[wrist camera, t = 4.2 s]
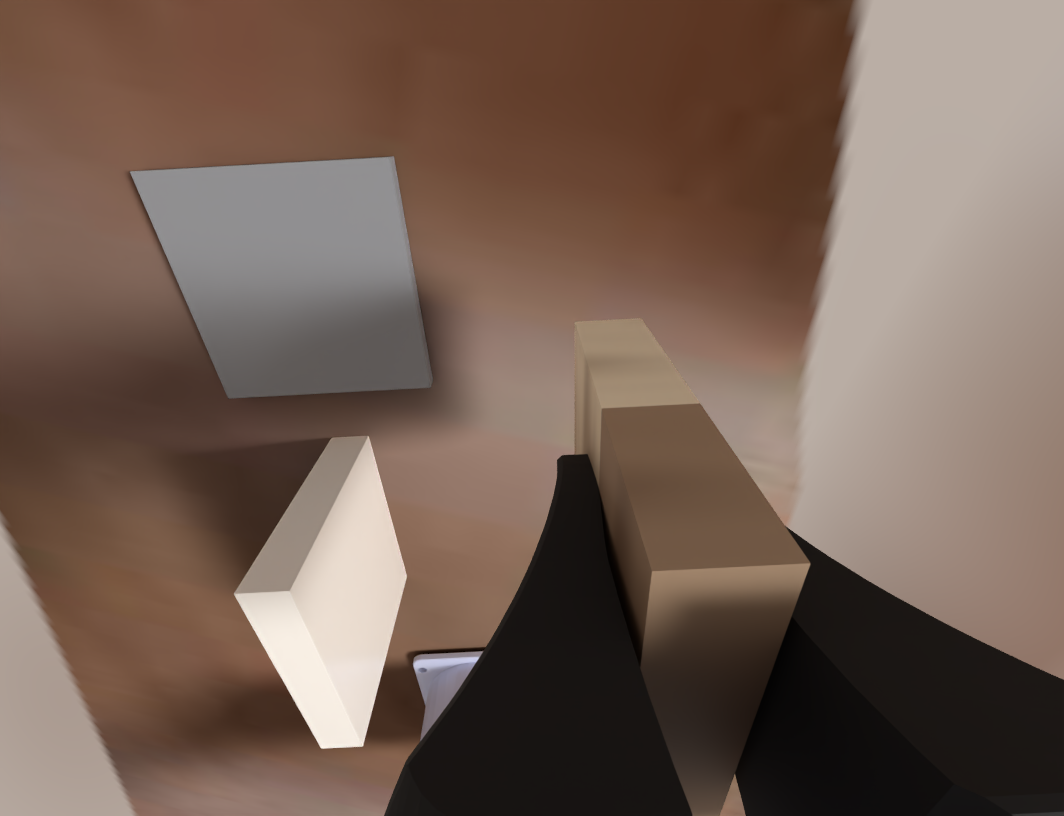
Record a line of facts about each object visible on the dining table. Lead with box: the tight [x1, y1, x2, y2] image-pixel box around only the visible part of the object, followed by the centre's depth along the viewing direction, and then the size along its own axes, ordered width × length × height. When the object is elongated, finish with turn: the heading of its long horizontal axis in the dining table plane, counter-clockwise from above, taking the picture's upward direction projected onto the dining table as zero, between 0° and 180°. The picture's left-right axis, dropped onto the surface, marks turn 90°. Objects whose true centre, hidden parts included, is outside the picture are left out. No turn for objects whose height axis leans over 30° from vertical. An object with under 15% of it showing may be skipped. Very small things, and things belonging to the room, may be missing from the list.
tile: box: [234, 436, 407, 748], centre depth 19 cm, size 9×2×8 cm, turn 3°
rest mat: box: [130, 157, 433, 399], centre depth 17 cm, size 8×8×1 cm
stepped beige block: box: [575, 318, 811, 816], centre depth 9 cm, size 6×2×8 cm, turn 3°
